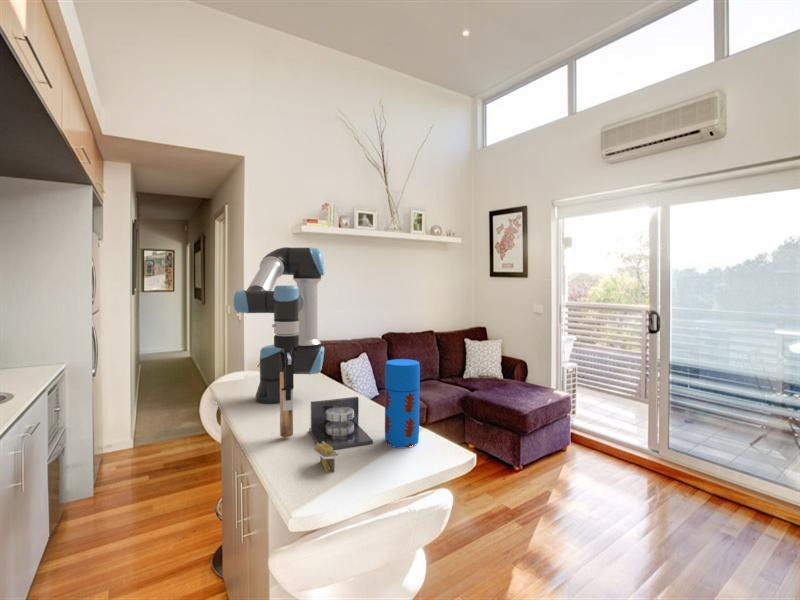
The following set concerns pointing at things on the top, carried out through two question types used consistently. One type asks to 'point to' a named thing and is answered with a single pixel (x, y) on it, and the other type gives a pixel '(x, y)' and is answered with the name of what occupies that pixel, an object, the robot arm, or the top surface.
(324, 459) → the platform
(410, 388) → the thermos
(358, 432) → the collar stand
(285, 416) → the copper tube
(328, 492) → the top surface
